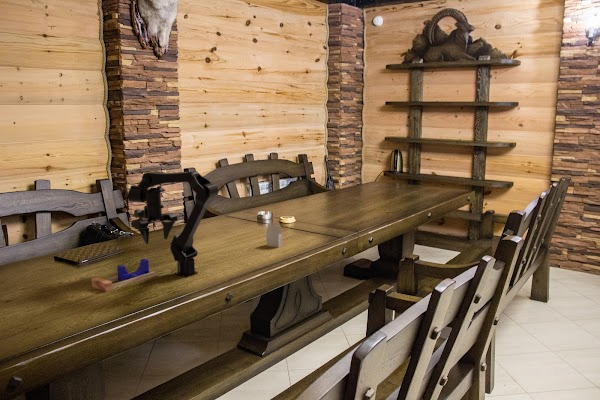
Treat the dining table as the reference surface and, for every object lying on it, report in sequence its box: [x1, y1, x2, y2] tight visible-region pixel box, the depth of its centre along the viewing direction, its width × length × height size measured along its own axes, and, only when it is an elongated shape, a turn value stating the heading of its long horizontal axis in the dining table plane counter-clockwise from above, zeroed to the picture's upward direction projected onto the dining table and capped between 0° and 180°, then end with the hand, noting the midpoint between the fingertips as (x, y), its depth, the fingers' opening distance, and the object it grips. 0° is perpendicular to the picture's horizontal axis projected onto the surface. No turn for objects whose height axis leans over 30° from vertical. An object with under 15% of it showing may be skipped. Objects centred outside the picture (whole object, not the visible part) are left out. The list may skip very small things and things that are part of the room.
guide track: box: [91, 269, 157, 292], centre depth 207 cm, size 9×22×3 cm, turn 144°
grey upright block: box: [265, 223, 284, 248], centre depth 258 cm, size 4×7×10 cm, turn 61°
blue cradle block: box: [116, 258, 150, 282], centre depth 211 cm, size 12×4×6 cm, turn 141°
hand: (156, 241), depth 219 cm, fingers open, 9 cm apart
